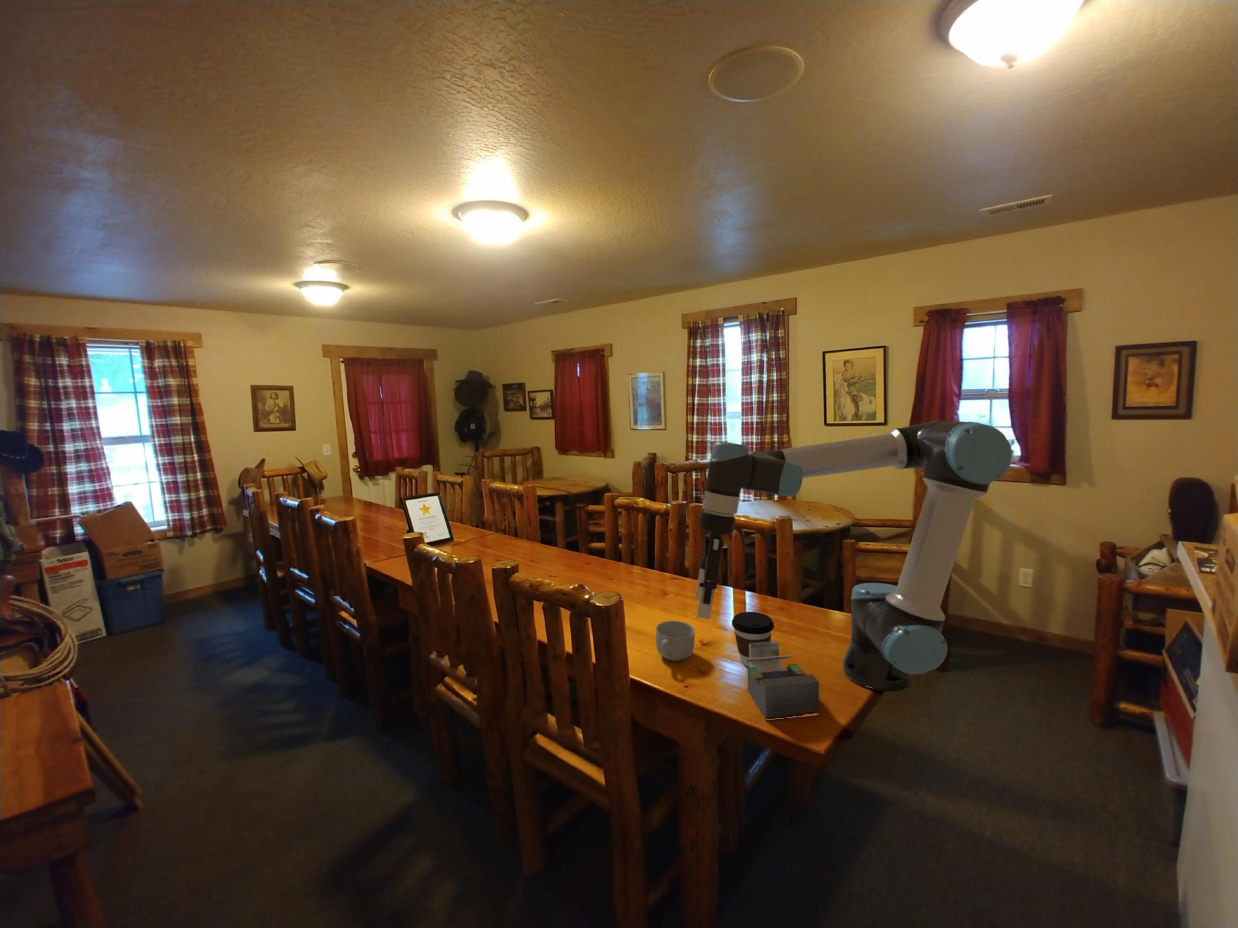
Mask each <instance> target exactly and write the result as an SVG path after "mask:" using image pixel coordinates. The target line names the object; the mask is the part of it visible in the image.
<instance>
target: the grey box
mask: <svg viewBox="0 0 1238 928" xmlns="http://www.w3.org/2000/svg"><path fill="white" fill-rule="evenodd" d="M747 692H749V693H750V694H749V693H748V694H749V696H750V695H751V696H750V697H752V698H753V699H752V698H751V699H752V700H754V701H755V703H756V704H755V703H754V704H755V706H756V705H757V706H758V708H759V709H760V711H761V712H762V714H763V715H764V717H765V719H775V718H786V717H793V716H802V715H805V714H813V713H819V711H820V710H819V708H820V707H819V706H820V705H819V704H820V703H819V701H820V681H818V679H817V678H816V677H815V676H814V674H807V675H806V672H805V671H804V670H803V669H802V668H801V666H799V664H797V663H791V664H790V663H789V664H787V677H781V678H771V679H763V676H762V675H761V673H760V672H759V670H758V669H757V668H756V667H754V668H749V667H747ZM754 701H753V702H754ZM757 706H756V707H757ZM758 708H757V709H758ZM759 709H758V710H759ZM760 711H759V712H760ZM761 712H760V713H761ZM762 714H761V715H762ZM764 717H763V718H764ZM765 719H764V720H765Z"/></svg>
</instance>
